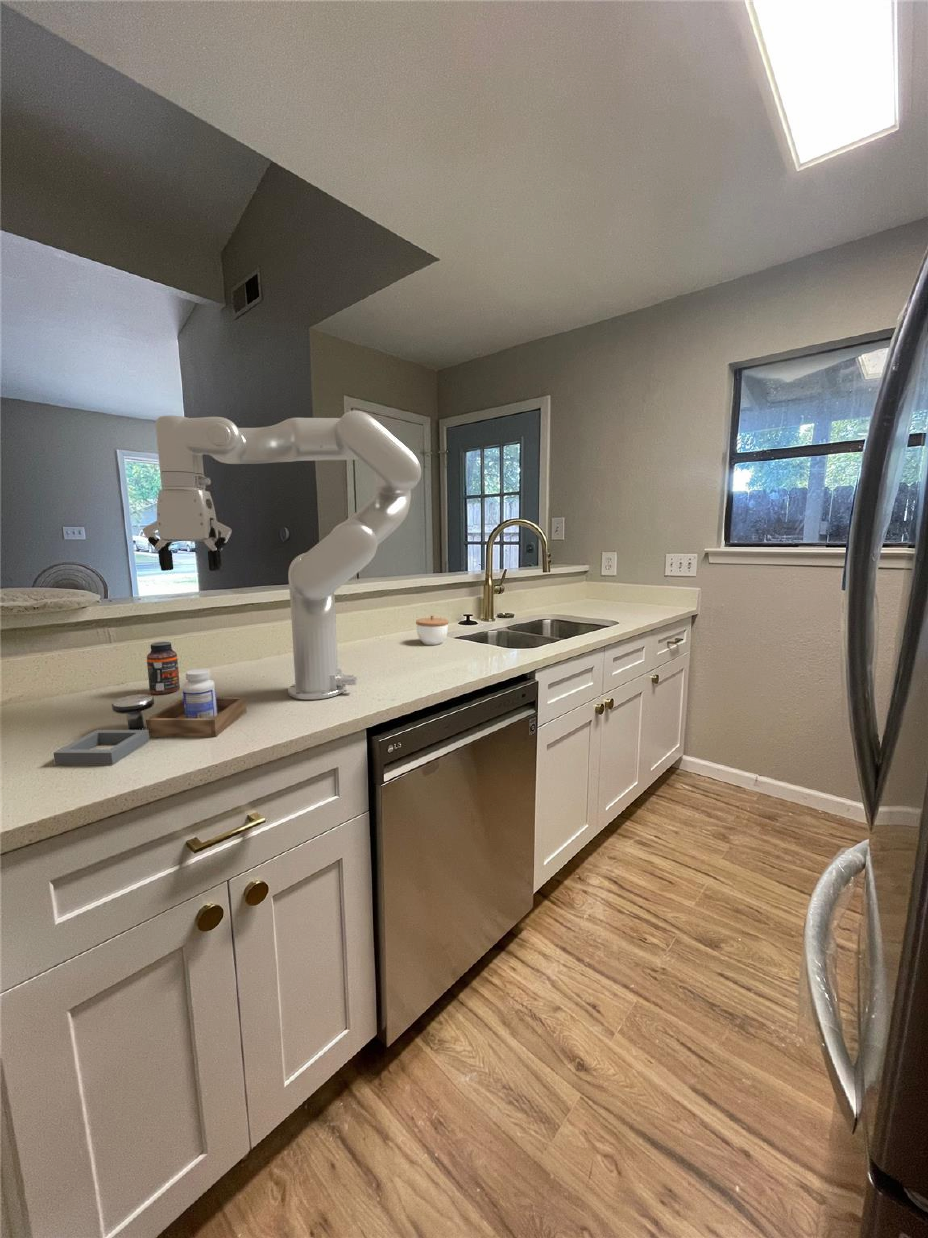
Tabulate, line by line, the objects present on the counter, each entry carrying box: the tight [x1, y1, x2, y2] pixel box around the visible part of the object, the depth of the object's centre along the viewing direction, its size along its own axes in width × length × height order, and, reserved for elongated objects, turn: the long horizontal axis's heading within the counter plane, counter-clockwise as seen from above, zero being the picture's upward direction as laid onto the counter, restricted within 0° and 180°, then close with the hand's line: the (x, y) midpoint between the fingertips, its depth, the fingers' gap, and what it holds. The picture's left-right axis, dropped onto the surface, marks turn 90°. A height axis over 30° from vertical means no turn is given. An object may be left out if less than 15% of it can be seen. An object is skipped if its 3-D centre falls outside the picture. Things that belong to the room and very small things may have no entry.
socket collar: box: [53, 729, 151, 766], centre depth 80 cm, size 9×9×2 cm
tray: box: [145, 696, 247, 738], centre depth 92 cm, size 12×12×3 cm
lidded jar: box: [415, 614, 449, 646], centre depth 162 cm, size 11×11×9 cm
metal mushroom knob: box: [111, 693, 155, 730], centre depth 90 cm, size 6×6×6 cm
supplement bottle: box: [146, 641, 181, 695], centre depth 111 cm, size 6×6×11 cm
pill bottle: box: [182, 668, 218, 718], centre depth 92 cm, size 5×5×10 cm
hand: (191, 570), depth 99 cm, fingers open, 9 cm apart
